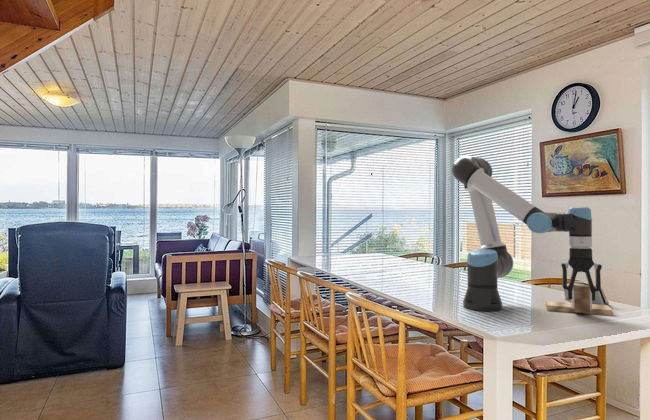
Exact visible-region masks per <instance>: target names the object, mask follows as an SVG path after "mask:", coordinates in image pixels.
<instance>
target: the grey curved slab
mask: <svg viewBox="0 0 650 420" xmlns="http://www.w3.org/2000/svg"><path fill="white" fill-rule="evenodd" d="M574 284H578V285H588V286H589V284H588V281H577V280H575V282H574ZM593 285H594V288H595V287H596V284H594V283H593ZM567 286H569V282H567ZM572 290H573V289H572ZM563 291H564V299H565V300H569V301H571V299H569V298H568V290H566V289H564V288H563ZM590 291H591V290H590ZM592 304H597V305H607V306H610V302H609V300H607V298H606V295H605V292H604V290H603V287H601V290H600V291H596V292H595V301H592Z"/></svg>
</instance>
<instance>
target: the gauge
mask: <svg viewBox="0 0 650 420" xmlns="http://www.w3.org/2000/svg"><path fill="white" fill-rule="evenodd" d="M573 291H574V304H575V309H573V310H574V312H573V313H575V312H578V313H577V314H588V313H590V286H588V285H578V284H574V285H573Z"/></svg>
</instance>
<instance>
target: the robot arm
mask: <svg viewBox="0 0 650 420" xmlns="http://www.w3.org/2000/svg"><path fill="white" fill-rule="evenodd" d="M451 172H452V176H453V177H454V179H455V180H456V181H458V182H459V183H461V184H462V185H463V186H464V187H463V188H464V191H466V192H468V193H469V199H470V203H471V206H472V212H473V215H474V220H475V225H476V229H477V234H478V235H477V236H478V239H479V242H480V245H479V247H478V249H473V250H470V251H469V252H468V253H467V259H466V263H467V264H466V265H467V267H466V269H467V270H466V271H467V289H466V292H465V294H464V296H463V302H462V306H463V308H466V309H469V310H473V311H483V312H495V311H497V312H498V311H501V310H503V301H502V299H501V295H500V293H499V290H498V284H499V283H498V279H499V278H504V277H505V276H507V275H508V274H510V273H511V272H512V270H513V268H514V258H513V256H512V255H511V254H510V253H509V252H508V247H507V245H506V244H505V243H504V242H503V241H502V240H501V236H500V231H499V227H498V221H497V217H496V212H495V209H494V205H493V203H495V204H496V205H497V206H498V207H500V208H502V209H503V210H505V211H506V212H507V213H509V214H510V215H512V216H513V217H515V218H516V219H518V220H519V221H521V222H522V223H523V224H525V225H526V226H527V228H528V229H529V230H530V231H531V232H533V233H536V234H545V233H551V232H555V233H557V232H565V233H568V237H569V238H568V240H569V241H568V243H569V253H568V254H569V258H568V261H567V262H561V263H560V266H561V269H562V288H563V290H564V289H566V290H568V298H569V299H571V300H570V301H571V302H570V303H571V307H572V309H575V304H574V291H573V290H572V289H573V285H574V282H575V281H576V277H577V275H578V273H584V274H585V276H586V279H587V282H588V284H589V286H590V290H591V291H590V310H592V301H595V292H596V291H600V290H601V288H602V285H601V284H602V281H601V279H602V278H601V270H602V267H603V265H602V264H599V263H595V262H594V260H593V249H592V247H593V224H592V223H593V218H592V217H593V216H592V209H591V208H590V207H587V206H586V207H585V206H582V207H581V206H580V207H569V208H568V211H566V212H545V211H543V210H542V209H540V208H539V207H537V206H535V204H532V203H531V202H529V201H528V200H526V199H525V198H523V197H522V196H520V195H519V194H517V193H515V191H513V190H511V189H510V188H509V187H506V186H505V185H504V184H502V183H501V182H499V181H498V180H496V179H495V178H493V168H492V165H491V163H490V162H489V161H488V160H487V159H484V158H482V157H474V156H470V155H463V156H460V157H459V158H457V159H455V160H454V162H453V165H452V166H451ZM569 266H570V267H571V269H572V271H571V276H570V279H569V282H567V281H568V276H567V275H568V273H567V272H568V268H569ZM591 268H594V270H595V271H594V274H595V284H594V282H593V280H592V276H591V272H590V270H591ZM567 283H569V286H567ZM593 284H594V285H596V287H595V288H594V285H593Z"/></svg>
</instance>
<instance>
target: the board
mask: <svg viewBox="0 0 650 420" xmlns="http://www.w3.org/2000/svg"><path fill="white" fill-rule="evenodd" d="M544 306H545V309H546V311H551V312H552V311H553V312H564V313H577V314H579V313H578V312H574V310H573V309H572V307H571V302H567V301H549V300H545V301H544ZM587 314H588V315H589V314H590V315H591V314H592V315H601V314H602V315H601V316H603V315H604V316H605V315H606V316H613V309H612V308H611V307H610V305H606V304H604V305H597V304H592V310H590V313H587Z"/></svg>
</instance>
